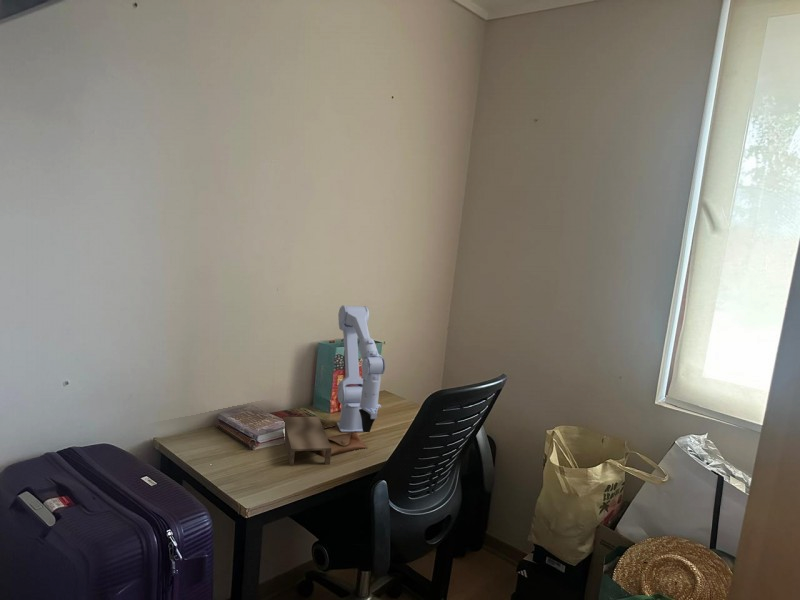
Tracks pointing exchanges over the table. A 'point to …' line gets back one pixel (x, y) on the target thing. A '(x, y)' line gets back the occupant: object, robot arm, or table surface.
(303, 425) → the miniature wooden table
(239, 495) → the table surface
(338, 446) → the sunglasses case
